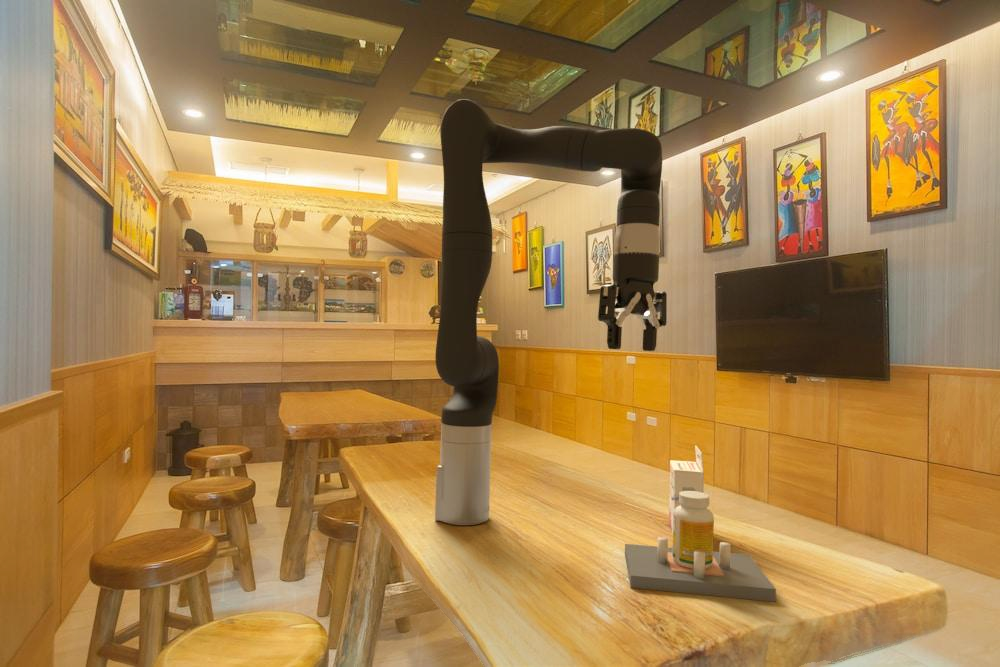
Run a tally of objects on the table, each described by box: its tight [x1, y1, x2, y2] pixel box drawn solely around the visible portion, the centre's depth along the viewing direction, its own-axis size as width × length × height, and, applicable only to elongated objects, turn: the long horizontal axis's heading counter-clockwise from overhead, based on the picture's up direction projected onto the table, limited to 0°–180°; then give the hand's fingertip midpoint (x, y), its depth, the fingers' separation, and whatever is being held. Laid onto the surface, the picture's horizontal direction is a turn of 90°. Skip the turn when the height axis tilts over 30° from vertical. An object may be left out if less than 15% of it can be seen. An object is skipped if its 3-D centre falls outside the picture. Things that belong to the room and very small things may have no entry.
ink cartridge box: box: [668, 445, 705, 535], centre depth 96 cm, size 9×5×15 cm, turn 168°
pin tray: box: [624, 536, 777, 603], centre depth 77 cm, size 18×12×5 cm, turn 81°
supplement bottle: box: [672, 491, 715, 569], centre depth 77 cm, size 5×5×10 cm
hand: (632, 350), depth 92 cm, fingers open, 8 cm apart
